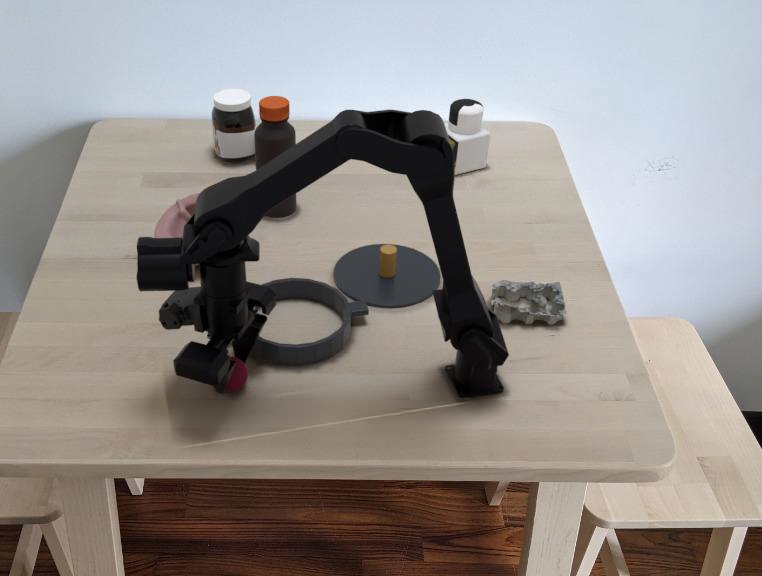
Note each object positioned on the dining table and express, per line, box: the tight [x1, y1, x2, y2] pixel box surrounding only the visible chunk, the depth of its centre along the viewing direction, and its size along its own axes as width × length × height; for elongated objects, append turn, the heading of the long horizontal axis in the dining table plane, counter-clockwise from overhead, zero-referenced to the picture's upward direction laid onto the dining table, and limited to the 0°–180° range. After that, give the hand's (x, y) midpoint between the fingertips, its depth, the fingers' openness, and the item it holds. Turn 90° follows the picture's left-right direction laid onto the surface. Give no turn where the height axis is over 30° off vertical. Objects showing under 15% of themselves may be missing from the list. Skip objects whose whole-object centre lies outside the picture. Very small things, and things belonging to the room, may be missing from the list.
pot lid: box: [333, 243, 441, 309], centre depth 142 cm, size 17×17×6 cm
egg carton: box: [490, 279, 567, 325], centre depth 136 cm, size 11×8×4 cm
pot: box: [250, 277, 370, 367], centre depth 133 cm, size 16×22×4 cm
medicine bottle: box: [444, 98, 491, 176], centre depth 168 cm, size 7×7×12 cm
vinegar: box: [254, 95, 297, 219], centre depth 153 cm, size 7×7×20 cm
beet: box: [225, 355, 249, 393], centre depth 124 cm, size 5×5×5 cm
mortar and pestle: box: [153, 192, 201, 267], centre depth 145 cm, size 12×12×12 cm
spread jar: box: [211, 88, 257, 164], centre depth 171 cm, size 12×11×12 cm
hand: (230, 378), depth 124 cm, fingers open, 6 cm apart
